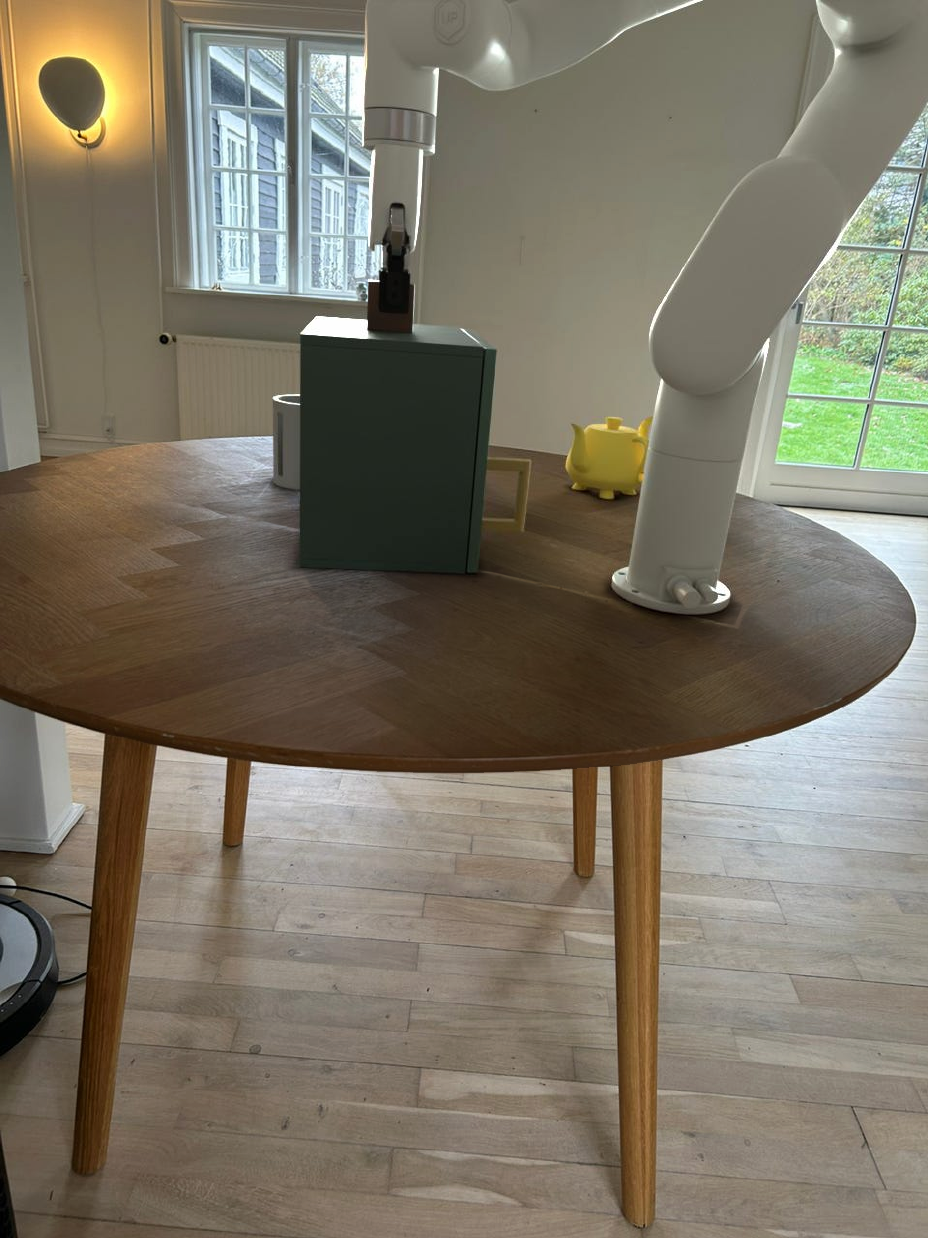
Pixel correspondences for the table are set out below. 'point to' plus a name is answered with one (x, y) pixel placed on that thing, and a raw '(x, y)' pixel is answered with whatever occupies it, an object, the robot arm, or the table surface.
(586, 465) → the teapot
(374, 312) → the block
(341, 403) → the cupboard
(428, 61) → the robot arm
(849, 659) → the table surface
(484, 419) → the door
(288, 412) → the cup
